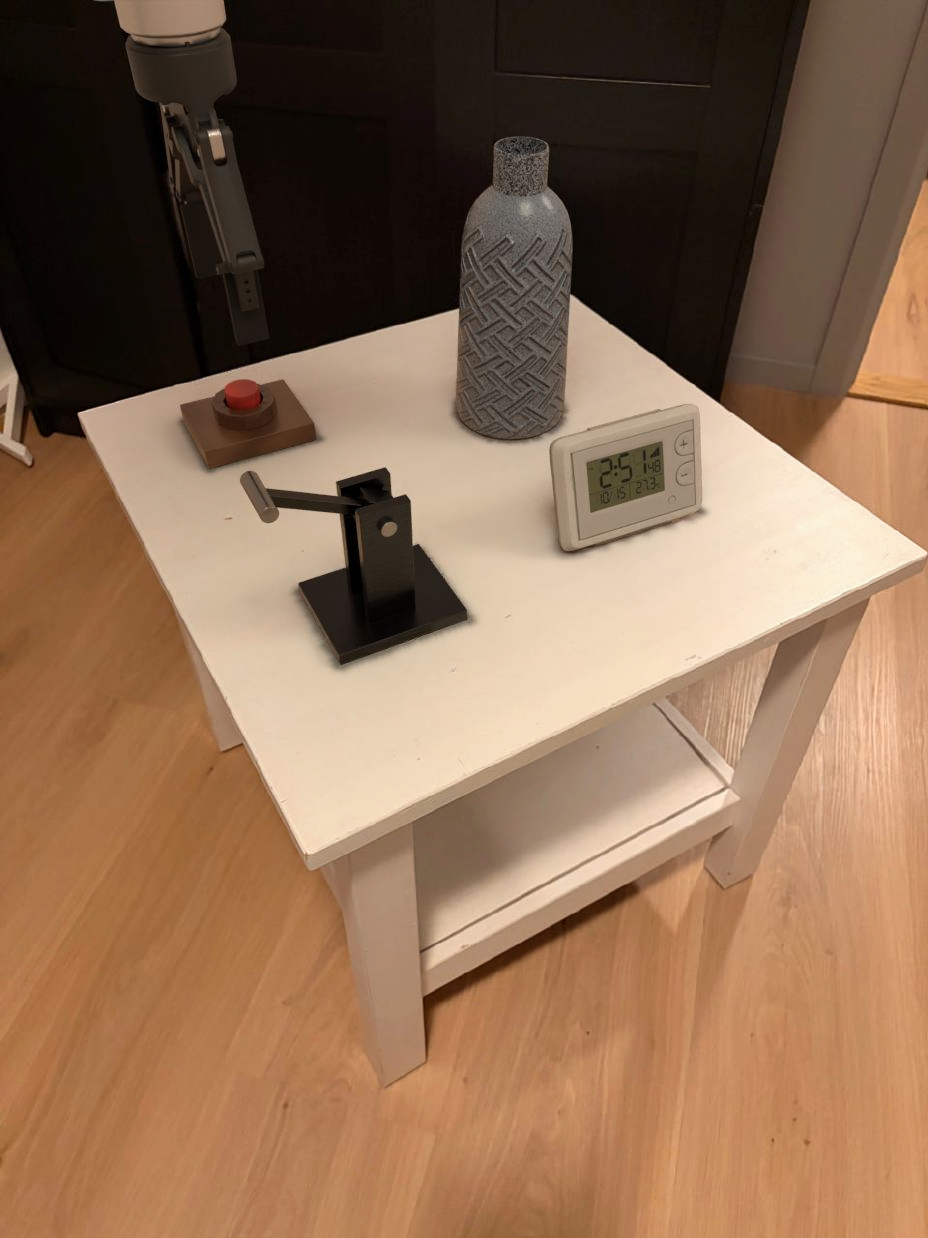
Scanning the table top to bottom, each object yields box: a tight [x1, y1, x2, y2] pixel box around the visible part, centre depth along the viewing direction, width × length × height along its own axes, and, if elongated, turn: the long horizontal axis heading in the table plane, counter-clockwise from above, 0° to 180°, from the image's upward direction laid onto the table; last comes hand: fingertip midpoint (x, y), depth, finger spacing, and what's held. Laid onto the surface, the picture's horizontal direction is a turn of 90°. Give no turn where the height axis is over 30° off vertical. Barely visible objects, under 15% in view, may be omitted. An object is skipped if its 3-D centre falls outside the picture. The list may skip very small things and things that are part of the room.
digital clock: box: [548, 403, 703, 552], centre depth 88 cm, size 16×9×11 cm, turn 103°
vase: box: [455, 136, 574, 440], centre depth 95 cm, size 12×12×28 cm
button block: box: [179, 378, 317, 470], centre depth 101 cm, size 12×10×4 cm
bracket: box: [297, 466, 468, 666], centre depth 78 cm, size 12×10×13 cm
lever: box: [239, 470, 395, 524], centre depth 72 cm, size 12×5×2 cm, turn 117°
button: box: [223, 378, 261, 410], centre depth 99 cm, size 4×4×2 cm
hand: (230, 306), depth 82 cm, fingers open, 13 cm apart
